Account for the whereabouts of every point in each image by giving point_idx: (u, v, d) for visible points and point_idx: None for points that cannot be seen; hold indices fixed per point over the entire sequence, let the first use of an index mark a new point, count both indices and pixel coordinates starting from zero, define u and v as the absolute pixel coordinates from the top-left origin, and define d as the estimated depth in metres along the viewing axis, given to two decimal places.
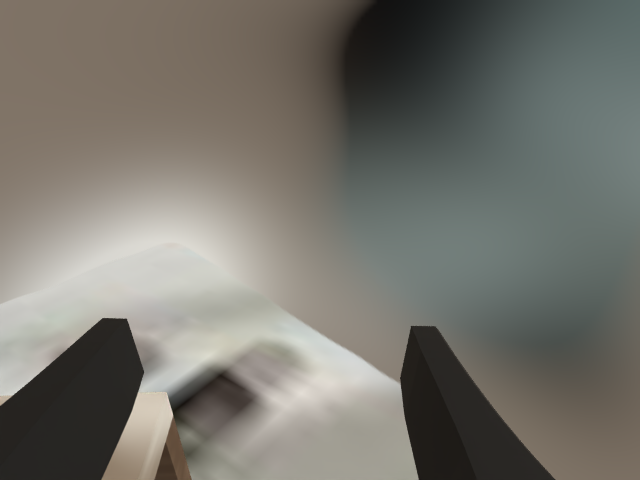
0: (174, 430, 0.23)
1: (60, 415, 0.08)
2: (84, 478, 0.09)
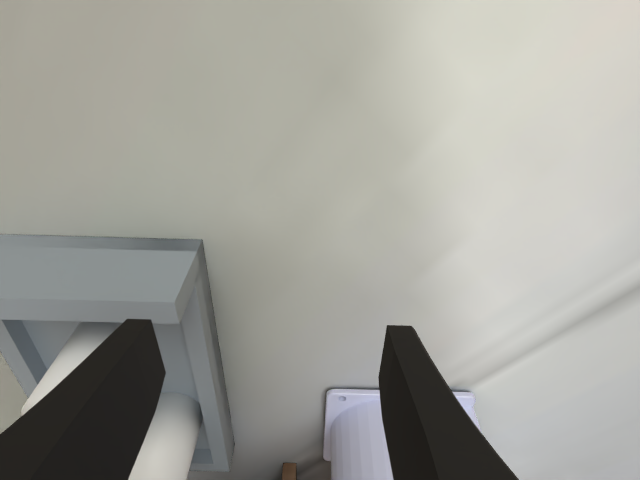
0: None
1: (92, 415, 0.08)
2: (112, 478, 0.09)
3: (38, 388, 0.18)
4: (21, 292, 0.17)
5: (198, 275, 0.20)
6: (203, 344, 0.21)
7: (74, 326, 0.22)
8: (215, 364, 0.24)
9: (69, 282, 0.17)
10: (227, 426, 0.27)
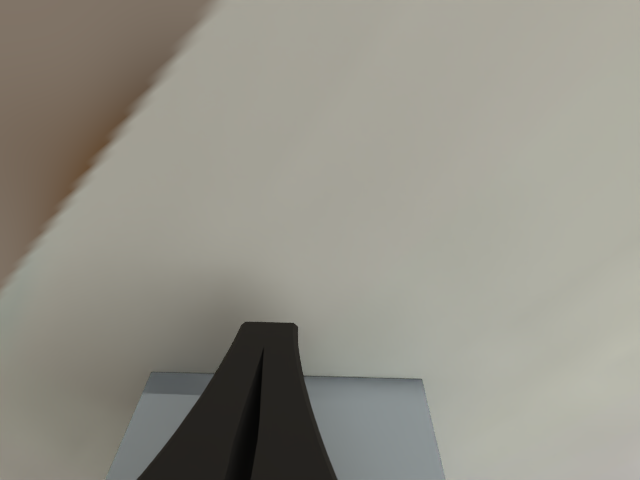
0: None
1: (246, 419, 0.08)
2: None
3: None
4: None
5: None
6: None
7: None
8: None
9: None
10: None
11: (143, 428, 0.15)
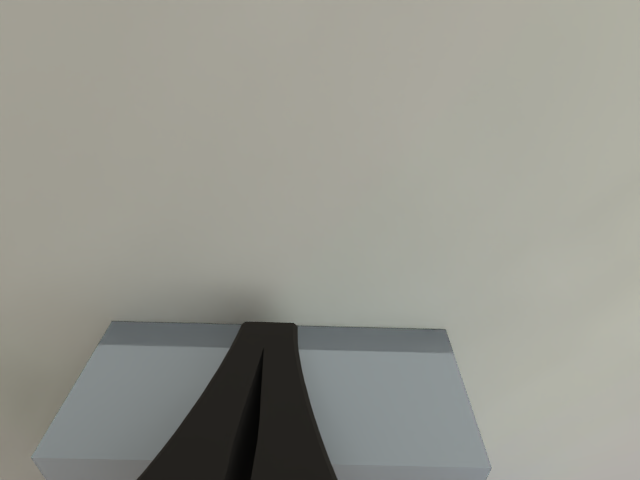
0: None
1: (246, 419, 0.08)
2: None
3: None
4: None
5: None
6: None
7: None
8: None
9: None
10: None
11: (95, 384, 0.12)
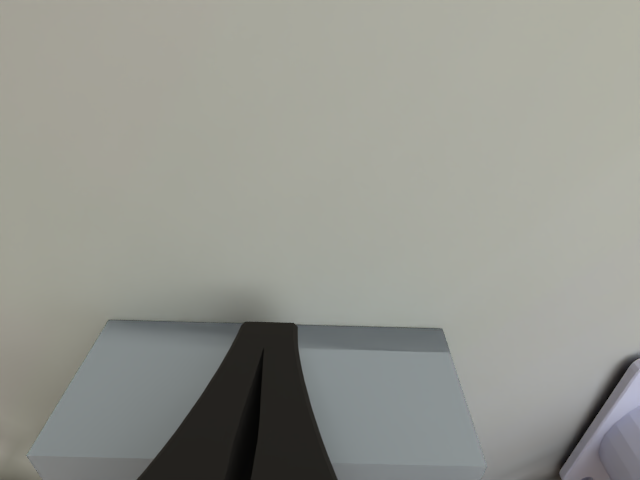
0: None
1: (245, 419, 0.08)
2: None
3: None
4: None
5: None
6: None
7: None
8: None
9: None
10: None
11: (91, 382, 0.12)
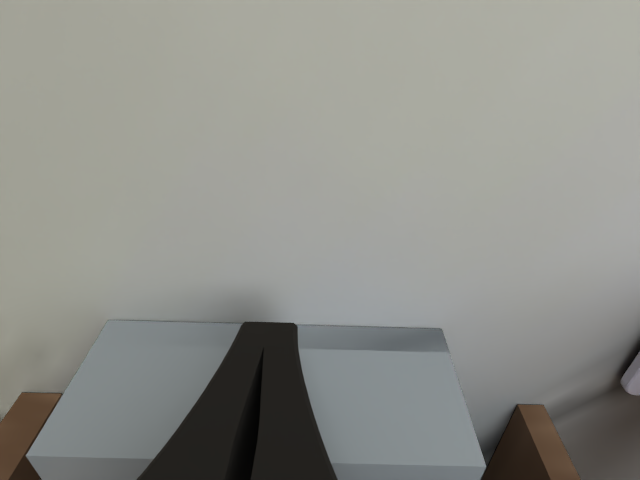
0: None
1: (246, 419, 0.08)
2: None
3: None
4: None
5: None
6: None
7: None
8: None
9: None
10: None
11: (91, 382, 0.12)
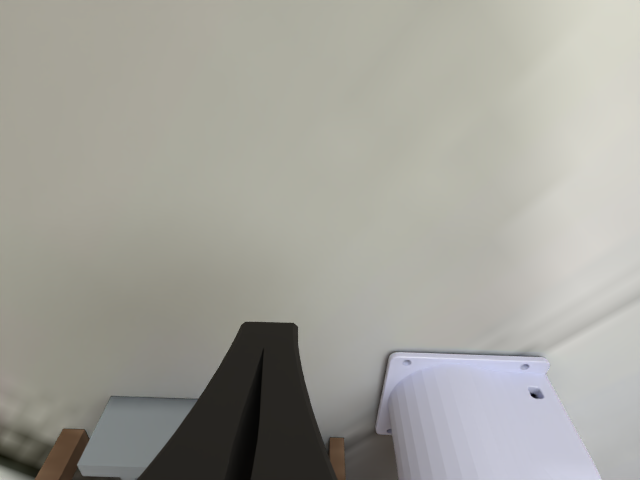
0: None
1: (245, 419, 0.08)
2: None
3: None
4: None
5: None
6: None
7: None
8: None
9: None
10: None
11: (103, 431, 0.25)
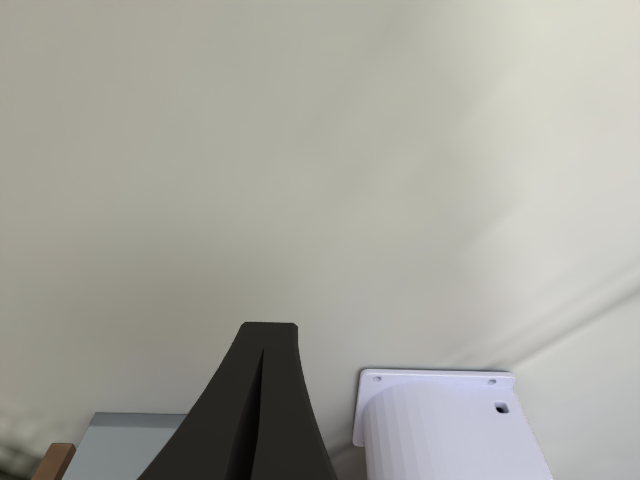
0: None
1: (246, 419, 0.08)
2: None
3: None
4: None
5: None
6: None
7: None
8: None
9: None
10: None
11: (87, 447, 0.26)
